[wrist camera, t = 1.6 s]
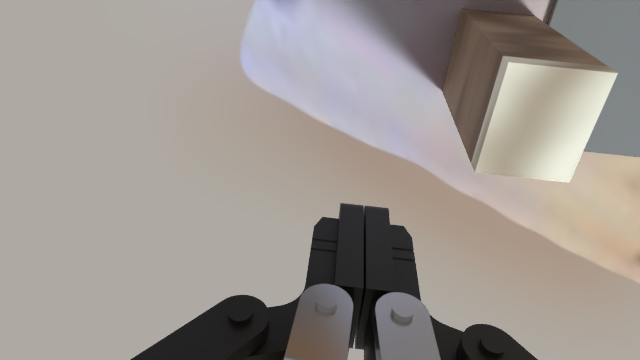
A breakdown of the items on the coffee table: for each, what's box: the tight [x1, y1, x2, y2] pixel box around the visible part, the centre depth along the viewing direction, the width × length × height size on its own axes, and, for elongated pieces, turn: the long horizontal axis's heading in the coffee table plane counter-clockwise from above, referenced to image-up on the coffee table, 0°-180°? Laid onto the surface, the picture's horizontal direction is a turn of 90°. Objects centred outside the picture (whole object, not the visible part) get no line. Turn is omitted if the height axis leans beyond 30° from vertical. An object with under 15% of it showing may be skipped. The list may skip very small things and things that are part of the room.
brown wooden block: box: [442, 9, 618, 183], centre depth 27 cm, size 5×6×12 cm
